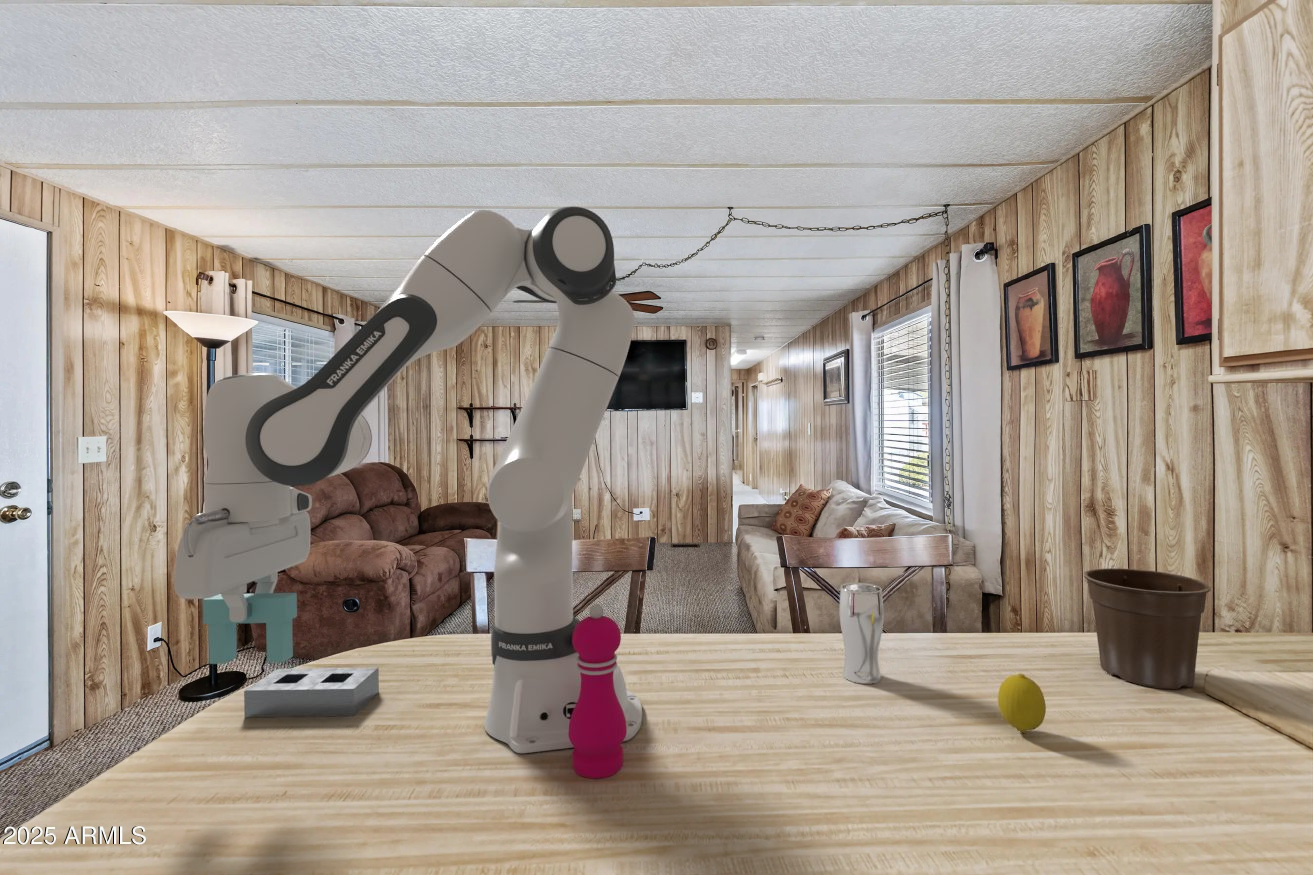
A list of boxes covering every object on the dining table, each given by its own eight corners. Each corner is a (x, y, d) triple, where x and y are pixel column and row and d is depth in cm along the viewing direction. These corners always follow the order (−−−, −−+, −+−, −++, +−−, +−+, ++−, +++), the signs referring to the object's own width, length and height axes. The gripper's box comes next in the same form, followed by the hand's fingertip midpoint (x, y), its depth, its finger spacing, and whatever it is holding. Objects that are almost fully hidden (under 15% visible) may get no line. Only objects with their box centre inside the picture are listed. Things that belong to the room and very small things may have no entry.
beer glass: (887, 673, 101) (887, 585, 101) (878, 688, 95) (878, 595, 95) (846, 665, 105) (845, 580, 105) (834, 679, 99) (834, 589, 99)
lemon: (1042, 727, 82) (1041, 669, 82) (1049, 746, 77) (1048, 685, 77) (996, 719, 85) (995, 663, 85) (1000, 737, 80) (999, 678, 80)
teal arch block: (297, 655, 76) (296, 592, 76) (286, 662, 73) (285, 598, 73) (217, 657, 76) (216, 594, 75) (203, 664, 73) (202, 599, 73)
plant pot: (1099, 686, 95) (1099, 585, 95) (1073, 651, 110) (1073, 564, 110) (1231, 703, 89) (1231, 595, 89) (1184, 664, 104) (1184, 571, 104)
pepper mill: (618, 784, 70) (616, 614, 70) (560, 777, 71) (558, 611, 71) (633, 751, 77) (631, 597, 77) (579, 746, 79) (578, 595, 78)
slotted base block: (378, 691, 96) (378, 667, 96) (354, 715, 88) (353, 688, 88) (278, 693, 96) (277, 668, 95) (244, 717, 88) (244, 690, 87)
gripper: (214, 515, 64) (217, 644, 64) (319, 495, 84) (320, 592, 84) (154, 516, 64) (157, 645, 64) (273, 496, 84) (275, 593, 84)
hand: (251, 615), depth 74 cm, fingers closed on teal arch block, 2 cm apart
